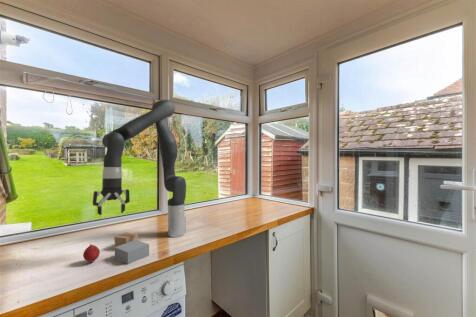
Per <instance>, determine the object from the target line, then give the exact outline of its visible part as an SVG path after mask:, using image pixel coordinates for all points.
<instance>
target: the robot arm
mask: <svg viewBox="0 0 476 317" xmlns="http://www.w3.org/2000/svg"><path fill="white" fill-rule="evenodd" d="M175 110H176V109H175V104H174V103H173V102H172V101H171V100H169V99H162V100H157V101H155V102H154V103H153V104H152V107H151V110H150V111H147V112H145V113H144V114H142V115H140V116H137V117H135V118H133V119H131V120H130V121H128V122H125V124H123V125H121V126H120V127H118V128H116V129H114V130H112V131H110V132H108V133H107V134H105V135H104V136H103V137H102V141H101V143H102V145H103V146H104V148H106V154H104V155H103V168H102V169H103V170H102V182H101V184H102V188H101V191H99V190H98V191H97V190H94V191H93V195H92V205H93V206H95V207H97V211H96V212H97V215H99V216H102V215H103V214H102V212H103V211H102V209H103V208H102V205H103V204H104V203H105V202H106V201H117V200H118V201H119V202H120V203H121V204H120V213H121V214H122V213H124V212H125V211H126V204H128V203H130V202H131V198H130V197H131V196H130V189H128V188H127V189H122V185H123V184H122V181H123V179H122V178H123V171H122V157H123V153H124V148H125V142H126V141H128V140H130V139H133V138H134V137H136V136H138V135H139V134H141V133H142V132H143V131H145V130H146V129H148V128H149V127H151V126H153V125H154V124H155V128H156V132H157V133H156V134H157V138H158V143H159V145H158V146H159V150H160V155H161V163H162V172H163V185H164V188H165V190H166V191H167V192H169V193H172V195H171V196H172V197H171V198H168V200H167V236H168V237H170V238H179V237H183V236H184V235H185V234H186V233H187V217H186V216H185V201H186V196H187V181H186V179H185V177H183V176H179V175H176V171H175V164H176V161H177V158H178V154H179V150H178V144H177V140H176V137H175V135H174V134H173V132H172V131H171V129H170V127H169V122H168V118H169V117H171V116H173V115H174V114H175ZM122 194H124V195H125V200H124V199H123V197H121V195H122ZM100 195H101V196H102V198H101V199H100V200H99V201H98V202H97V199H98V197H99V196H100Z"/></svg>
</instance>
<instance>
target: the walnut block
mask: <svg viewBox="0 0 476 317" xmlns="http://www.w3.org/2000/svg"><path fill="white" fill-rule="evenodd" d="M134 240H138V233H137V232H129V231H128V232H127V231H125V232H123V233H120V234H118V235H117V236H116V235H115V236H114V248H115V247H117V246H120V245H123V244H125V243H128V242H131V241H134Z"/></svg>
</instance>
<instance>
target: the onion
mask: <svg viewBox="0 0 476 317" xmlns="http://www.w3.org/2000/svg"><path fill="white" fill-rule="evenodd" d="M100 253H101V252H100V249H99V247H98V246H96V245H94V244H93V243H89V246H87V247H86V248H85V249H84V251H83V254H82V256H83V259H84V260H85V261H86V262H87V263H90V264H92V263H93V262H94V261H96V260H97V259H98V258H99V256H100Z"/></svg>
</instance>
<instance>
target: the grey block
mask: <svg viewBox="0 0 476 317" xmlns="http://www.w3.org/2000/svg"><path fill="white" fill-rule="evenodd" d="M148 256H150V244H149V243H147V242H143V241H141V240H138V239H137V240H134V241H131V242H128V243H125V244H123V245H120V246H117V247H115V246H114V259H115V260H116V261H120V262H121V263H124V264H126V265H130V264H132V263H134V262H137V261H139V260H141V259H143V258H146V257H148Z"/></svg>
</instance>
